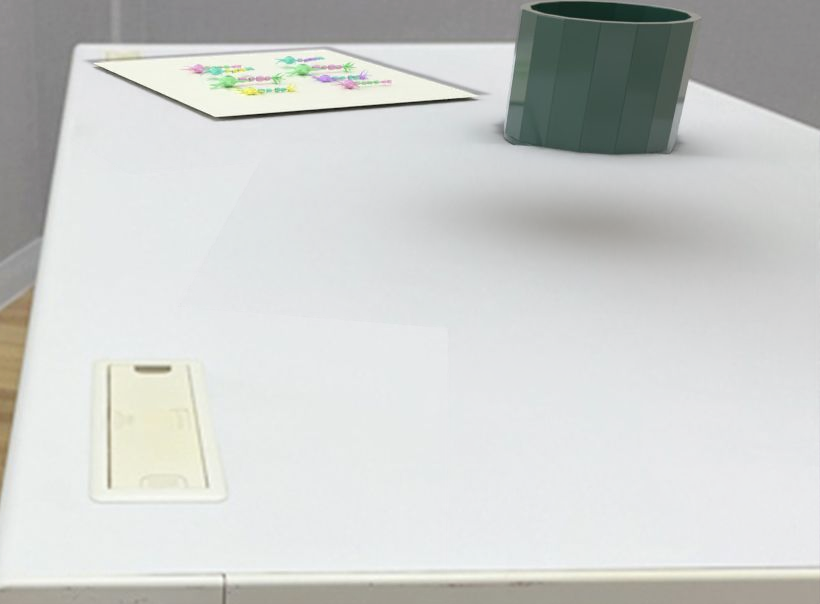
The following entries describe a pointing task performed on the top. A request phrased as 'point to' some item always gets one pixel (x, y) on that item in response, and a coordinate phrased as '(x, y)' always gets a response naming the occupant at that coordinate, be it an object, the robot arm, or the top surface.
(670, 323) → the top surface
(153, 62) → the printed paper
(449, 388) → the top surface
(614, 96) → the tin
